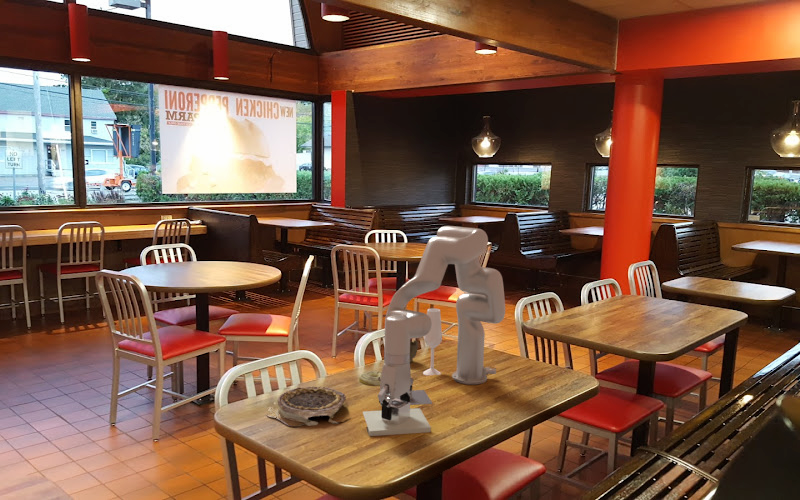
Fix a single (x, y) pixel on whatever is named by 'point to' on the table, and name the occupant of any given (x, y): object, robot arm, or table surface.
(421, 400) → the rod stand
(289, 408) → the pie
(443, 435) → the table surface
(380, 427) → the hub plate
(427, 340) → the champagne flute
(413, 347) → the cup
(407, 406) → the collar
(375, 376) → the decorated donut
